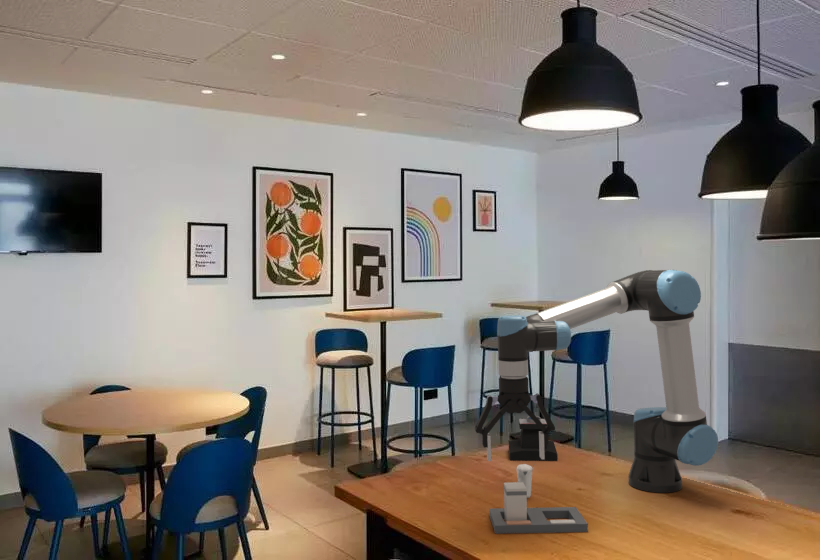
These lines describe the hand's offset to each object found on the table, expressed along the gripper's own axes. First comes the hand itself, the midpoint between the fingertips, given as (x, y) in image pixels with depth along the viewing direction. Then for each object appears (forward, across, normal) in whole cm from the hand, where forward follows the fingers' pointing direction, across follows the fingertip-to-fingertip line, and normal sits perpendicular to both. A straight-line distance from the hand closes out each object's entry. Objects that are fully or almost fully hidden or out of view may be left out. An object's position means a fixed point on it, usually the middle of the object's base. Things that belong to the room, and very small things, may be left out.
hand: (515, 459), depth 176 cm
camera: (+18, -16, -64) cm, 68 cm away
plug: (+17, 0, 0) cm, 17 cm away
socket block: (+17, -5, 0) cm, 18 cm away
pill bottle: (+17, -6, -21) cm, 28 cm away
